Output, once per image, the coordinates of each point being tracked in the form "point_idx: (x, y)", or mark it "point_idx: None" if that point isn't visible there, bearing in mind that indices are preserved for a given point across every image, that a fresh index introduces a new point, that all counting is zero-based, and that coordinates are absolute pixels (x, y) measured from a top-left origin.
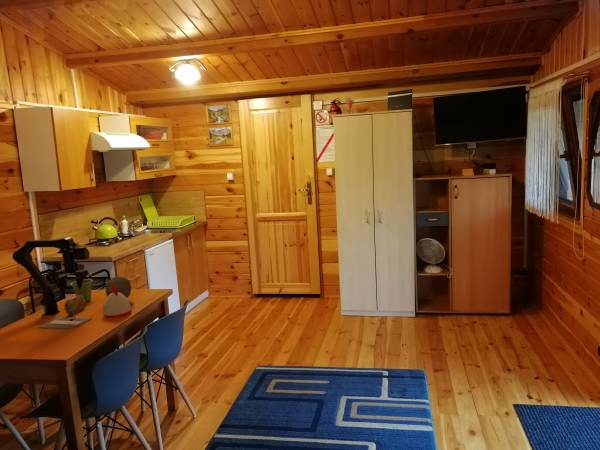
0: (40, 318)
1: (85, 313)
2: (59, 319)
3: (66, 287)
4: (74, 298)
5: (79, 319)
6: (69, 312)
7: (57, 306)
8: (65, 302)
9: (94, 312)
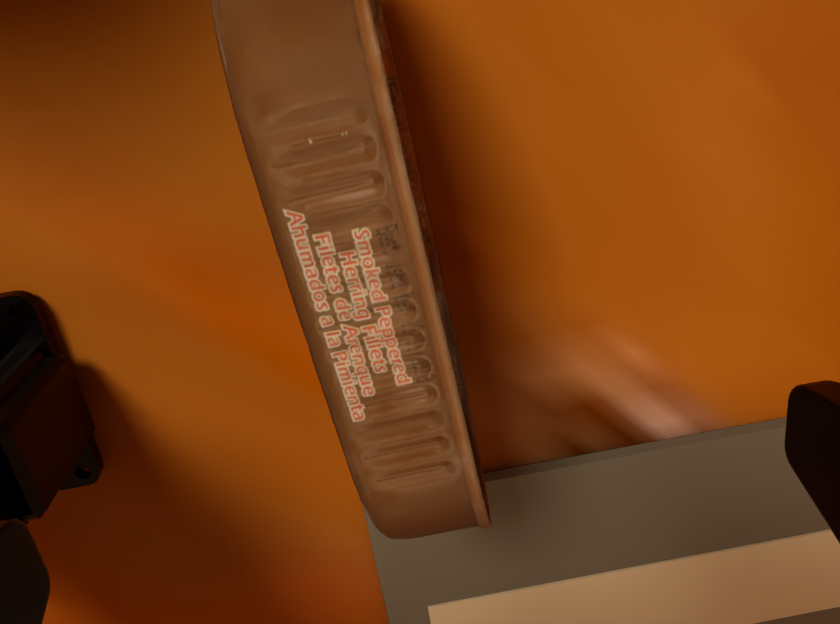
0: (52, 586)
1: (630, 229)
2: (460, 562)
3: (15, 590)
4: (425, 337)
5: (778, 481)
6: (470, 430)
7: (26, 416)
8: (386, 534)
9: (768, 143)
